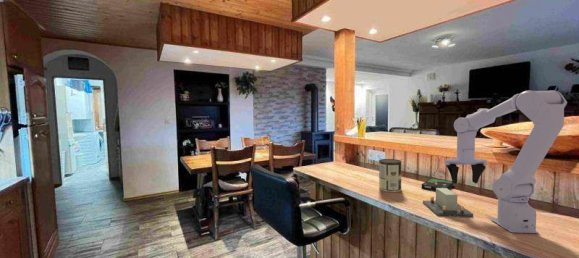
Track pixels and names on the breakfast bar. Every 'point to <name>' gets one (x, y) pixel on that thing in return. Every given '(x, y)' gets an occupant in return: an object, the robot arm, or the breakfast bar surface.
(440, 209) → the plate
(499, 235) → the breakfast bar surface
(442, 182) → the disk drive
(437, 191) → the block
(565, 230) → the breakfast bar surface
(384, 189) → the coffee can
